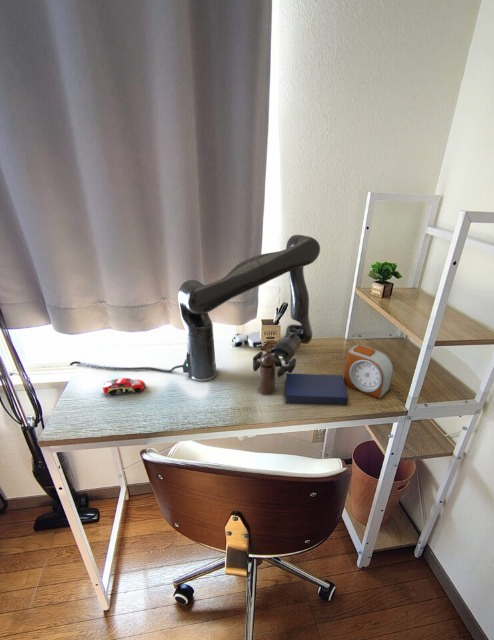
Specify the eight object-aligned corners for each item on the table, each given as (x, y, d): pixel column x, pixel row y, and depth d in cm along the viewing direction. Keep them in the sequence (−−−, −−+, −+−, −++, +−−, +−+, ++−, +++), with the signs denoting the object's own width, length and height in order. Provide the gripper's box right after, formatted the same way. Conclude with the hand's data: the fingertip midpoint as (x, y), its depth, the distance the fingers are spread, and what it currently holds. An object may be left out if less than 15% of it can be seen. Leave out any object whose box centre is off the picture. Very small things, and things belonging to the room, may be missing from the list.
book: (286, 403, 121) (286, 395, 120) (286, 380, 133) (286, 373, 131) (347, 405, 121) (348, 397, 120) (341, 382, 133) (342, 375, 131)
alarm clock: (340, 383, 132) (345, 349, 124) (352, 374, 138) (357, 341, 130) (378, 399, 125) (386, 364, 117) (389, 388, 131) (397, 354, 123)
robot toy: (231, 353, 150) (268, 352, 150) (229, 343, 148) (267, 341, 147) (234, 340, 160) (268, 338, 160) (233, 330, 158) (268, 329, 157)
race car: (146, 384, 128) (144, 374, 125) (145, 392, 123) (143, 382, 121) (105, 387, 125) (102, 377, 123) (103, 396, 121) (100, 386, 118)
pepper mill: (258, 394, 125) (258, 356, 117) (259, 386, 129) (259, 348, 121) (274, 394, 125) (275, 356, 117) (274, 386, 129) (275, 349, 121)
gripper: (266, 338, 134) (246, 357, 122) (303, 345, 130) (287, 366, 117) (265, 356, 138) (246, 376, 126) (301, 364, 134) (286, 386, 122)
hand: (266, 371), depth 122 cm, fingers open, 8 cm apart
